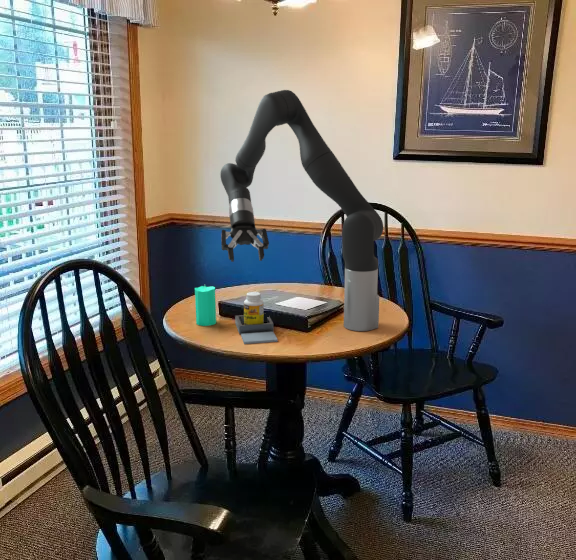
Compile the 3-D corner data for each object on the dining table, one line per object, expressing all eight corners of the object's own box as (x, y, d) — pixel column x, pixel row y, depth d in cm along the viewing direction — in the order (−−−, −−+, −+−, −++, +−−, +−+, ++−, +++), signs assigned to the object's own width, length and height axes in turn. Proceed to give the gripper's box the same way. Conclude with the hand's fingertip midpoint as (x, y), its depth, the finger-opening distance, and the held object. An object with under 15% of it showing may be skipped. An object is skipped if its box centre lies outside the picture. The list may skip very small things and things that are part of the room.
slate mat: (273, 333, 165) (273, 331, 164) (277, 341, 158) (277, 339, 158) (241, 335, 163) (241, 333, 163) (244, 344, 157) (244, 341, 156)
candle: (220, 321, 175) (219, 282, 172) (206, 327, 170) (205, 286, 167) (205, 318, 178) (204, 279, 175) (191, 323, 174) (189, 283, 171)
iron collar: (267, 321, 175) (267, 313, 174) (273, 332, 166) (273, 323, 165) (235, 323, 173) (235, 315, 172) (239, 334, 164) (239, 325, 163)
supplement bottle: (240, 329, 168) (239, 294, 166) (251, 323, 173) (250, 290, 171) (257, 332, 166) (256, 297, 163) (267, 326, 170) (267, 292, 168)
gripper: (219, 209, 180) (223, 253, 172) (265, 208, 183) (272, 252, 175) (218, 223, 186) (222, 267, 178) (262, 222, 189) (269, 265, 181)
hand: (247, 259), depth 177 cm, fingers open, 8 cm apart
